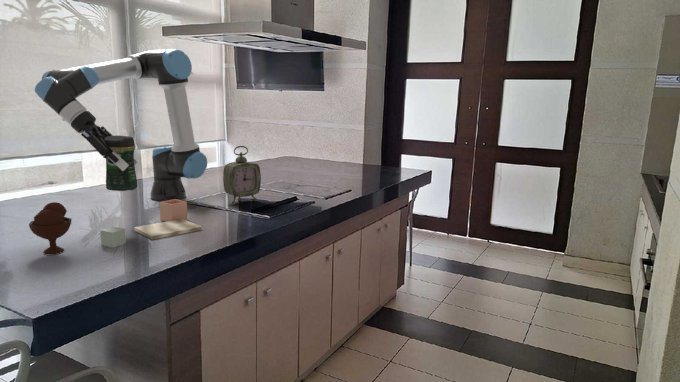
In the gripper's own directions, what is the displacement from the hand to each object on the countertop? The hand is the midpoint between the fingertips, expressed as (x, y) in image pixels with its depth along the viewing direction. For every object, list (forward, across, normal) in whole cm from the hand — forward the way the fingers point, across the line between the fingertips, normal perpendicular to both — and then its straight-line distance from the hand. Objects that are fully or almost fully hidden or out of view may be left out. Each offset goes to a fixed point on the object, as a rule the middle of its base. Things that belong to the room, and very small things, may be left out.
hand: (130, 166), depth 168 cm
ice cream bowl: (+5, +25, -26) cm, 37 cm away
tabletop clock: (+38, -43, +6) cm, 58 cm away
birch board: (+24, +1, -7) cm, 25 cm away
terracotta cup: (+23, -13, -9) cm, 28 cm away
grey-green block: (+16, +18, -16) cm, 28 cm away
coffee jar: (+4, 0, -8) cm, 9 cm away
